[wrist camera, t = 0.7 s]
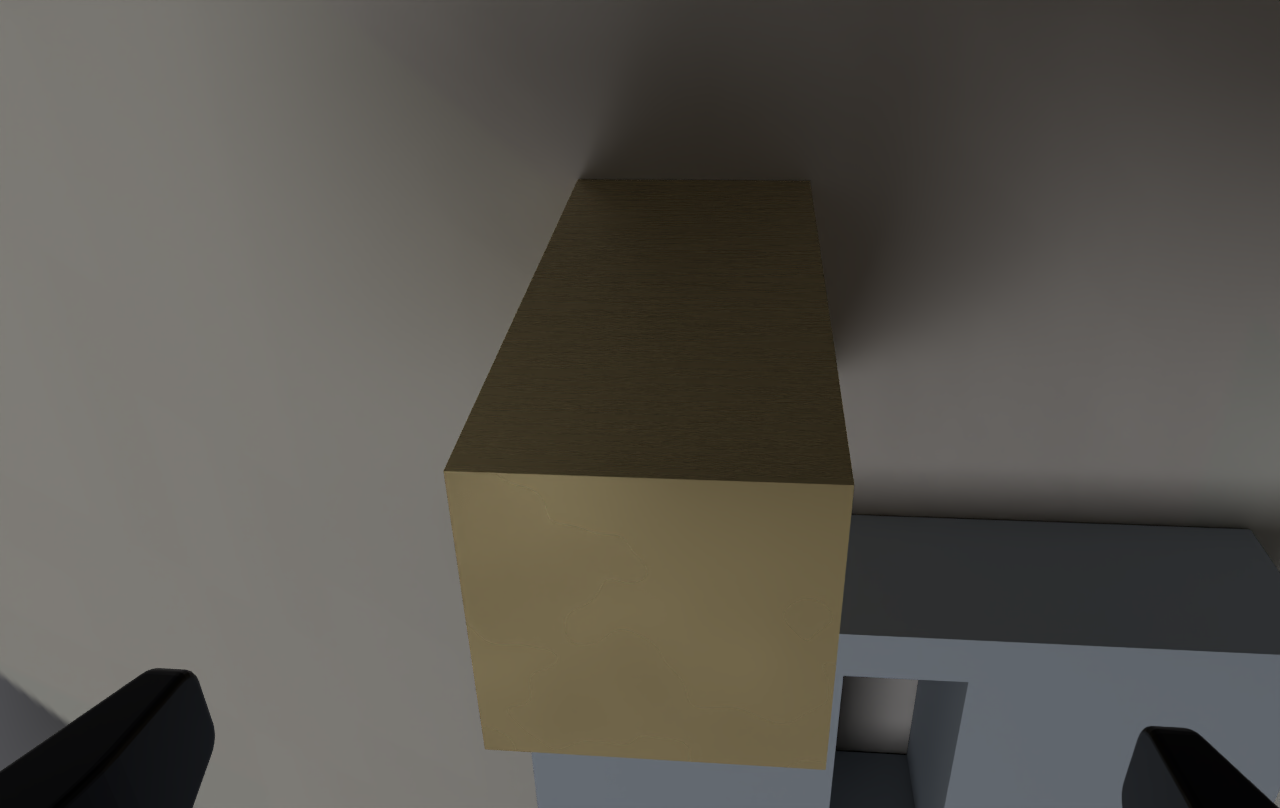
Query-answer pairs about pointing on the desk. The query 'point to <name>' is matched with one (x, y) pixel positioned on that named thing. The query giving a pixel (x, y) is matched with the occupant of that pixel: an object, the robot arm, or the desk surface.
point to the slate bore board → (1012, 670)
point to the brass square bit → (661, 485)
